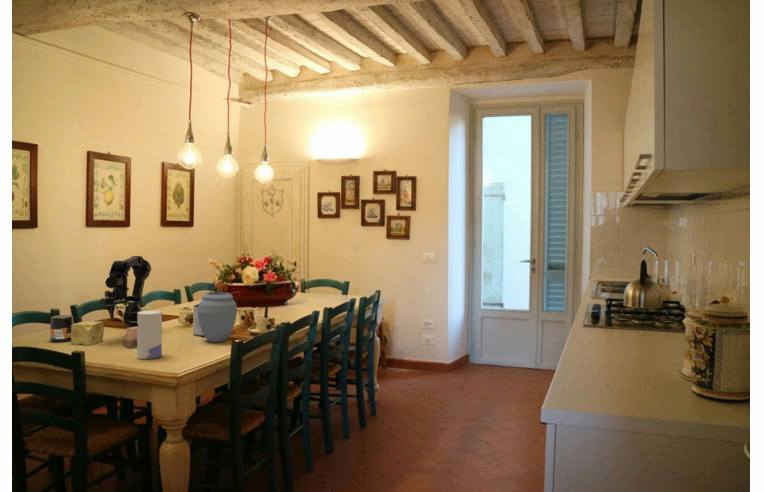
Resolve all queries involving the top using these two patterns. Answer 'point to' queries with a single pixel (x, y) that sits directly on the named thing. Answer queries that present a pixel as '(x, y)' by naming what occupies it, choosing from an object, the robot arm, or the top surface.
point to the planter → (196, 322)
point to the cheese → (87, 332)
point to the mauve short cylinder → (129, 343)
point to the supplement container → (61, 328)
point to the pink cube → (131, 333)
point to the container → (149, 334)
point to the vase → (217, 315)
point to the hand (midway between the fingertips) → (120, 317)
